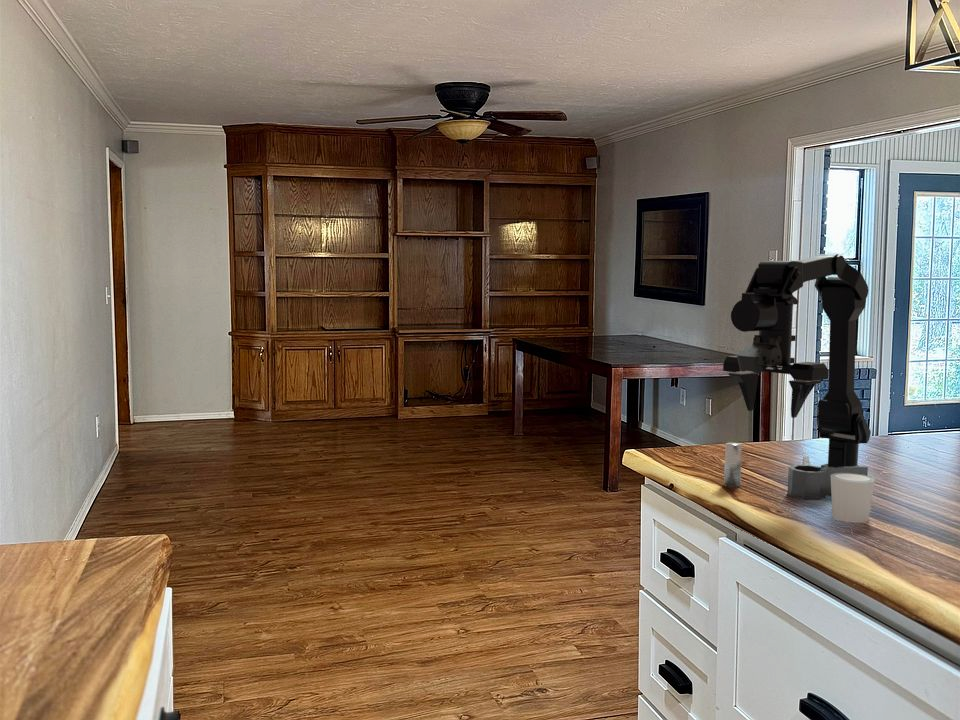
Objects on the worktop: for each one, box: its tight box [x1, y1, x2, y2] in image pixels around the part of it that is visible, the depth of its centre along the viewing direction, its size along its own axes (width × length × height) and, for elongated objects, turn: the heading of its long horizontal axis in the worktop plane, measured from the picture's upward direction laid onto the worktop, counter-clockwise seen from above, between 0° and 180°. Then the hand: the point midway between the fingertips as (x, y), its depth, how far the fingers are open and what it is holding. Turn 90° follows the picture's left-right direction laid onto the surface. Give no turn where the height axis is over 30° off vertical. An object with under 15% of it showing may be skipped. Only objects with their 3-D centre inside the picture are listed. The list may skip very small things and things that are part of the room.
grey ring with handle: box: [787, 455, 869, 501], centre depth 163 cm, size 14×13×5 cm
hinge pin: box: [723, 442, 743, 488], centre depth 167 cm, size 3×3×8 cm
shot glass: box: [830, 473, 876, 524], centre depth 146 cm, size 7×7×7 cm
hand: (771, 414), depth 162 cm, fingers open, 9 cm apart
